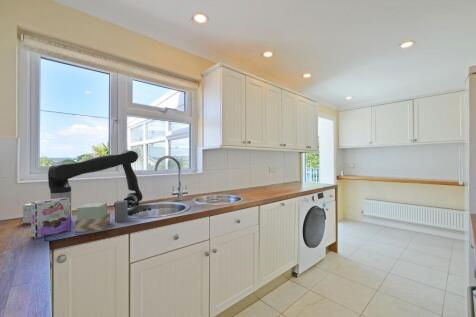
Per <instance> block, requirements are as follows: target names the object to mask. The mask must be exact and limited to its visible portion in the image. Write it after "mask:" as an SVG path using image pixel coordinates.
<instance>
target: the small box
mask: <svg viewBox="0 0 476 317" xmlns="http://www.w3.org/2000/svg"><path fill="white" fill-rule="evenodd" d="M22 218H23V219H22V220H23V221H22V222H23V224H31V202H30V203H26V204H23V205H22Z"/></svg>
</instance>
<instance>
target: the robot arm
mask: <svg viewBox="0 0 476 317" xmlns="http://www.w3.org/2000/svg"><path fill="white" fill-rule="evenodd" d="M138 159H139V155H138V152H136V151H135V150H127V149H126V150H122V151H121V152H120V153H119V154H106V155H98V156H94V157H90V158H88V159H85V160H82V161H79V162H73V163H55V164H52V165H51V166H50V167H49V168H48V172H47V181H48V188H49V190H50V191H49V194H50V199H57V198H64V197H66V198H70V204H71V205H72V186H71V185H70V183H69V179H72V178H75V177H78V176H81V175H85V174H90V173H91V174H92V173H96V172H100V171H105V170H108V169H111V168H115V167H118V166H122V167H123V170H124V174H125V178H126V184H127V189H128V191H133V192H129V193H128V194H127V196H126V197H124V199H123V200H128V209H131V208H134V207H139V206H140V202H141V201H142V200H143V194H142V192H141V189H140V187H139V181H138V178H137V176H136V173H135V171H134V169H133V167H132V164H134V163H135V162H136V163H137V161H138ZM113 207H114V208H115V202H114V203H113ZM72 211H73V210H72V207H71V222H72V221H73V217H72V216H73V215H72Z"/></svg>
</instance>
